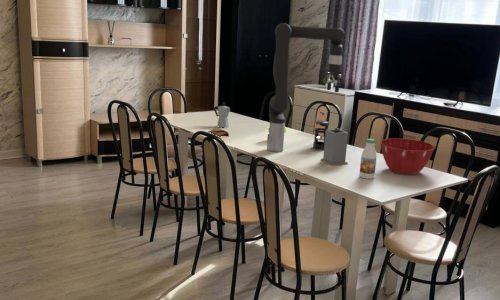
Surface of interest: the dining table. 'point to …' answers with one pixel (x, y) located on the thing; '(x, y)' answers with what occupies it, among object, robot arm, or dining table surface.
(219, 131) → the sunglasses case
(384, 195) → the dining table surface
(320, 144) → the french press
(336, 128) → the plunger
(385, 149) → the mixing bowl
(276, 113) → the robot arm
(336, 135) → the grey upright prism
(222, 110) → the coffee maker
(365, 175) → the milk bottle
